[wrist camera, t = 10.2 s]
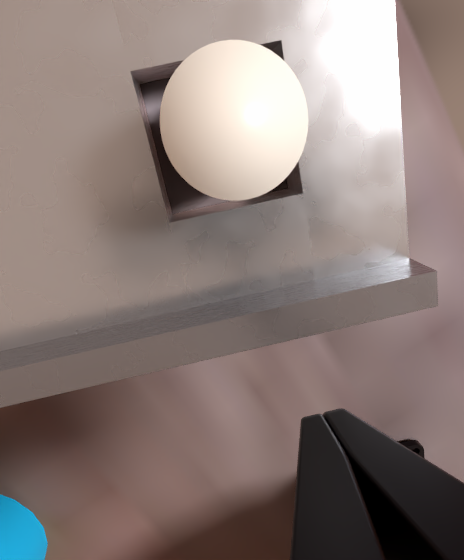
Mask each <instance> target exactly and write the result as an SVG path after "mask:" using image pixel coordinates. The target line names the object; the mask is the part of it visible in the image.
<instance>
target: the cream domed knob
mask: <svg viewBox="0 0 464 560" xmlns="http://www.w3.org/2000/svg"><path fill="white" fill-rule="evenodd" d="M160 131H161V137H162V141H163V145H164V148H165V151H166V153H167V155H168V158H169V160H170V161H171V163H172V165H173V166H174V168H175V169H176V171H177V172H178V173H179V174H180V176H181V177H182V178H183V179H184V180H185V181H186V182H187V183H188V184H190V185H191V186H192V187H194V188H195V189H197V190H198V191H200V192H202V193H204V194H206V195H209V196H211V197H214V198H218V199H222V200H230V201H239V200H247V199H251V198H255V197H258V196H260V195H263V194H265V193H267V192H269V191H270V190H272V189H274V188H275V187H276V186H278V185H279V184H280V183H281V182H282V181H283V180H284V179H285V178H286V177H287V176H288V175H289V174H290V173H291V171H292V170H293V169H294V167H295V166H296V164H297V162H298V161H299V159H300V156H301V154H302V152H303V149H304V146H305V143H306V138H307V133H308V108H307V103H306V98H305V95H304V92H303V89H302V87H301V85H300V83H299V80H298V79H297V77H296V75H295V74H294V72H293V71H292V70H291V68H290V67H289V66H288V65H287V63H286V62H285V61H283V60H282V59H281V58H280V57H279V56H278V55H277V54H275V53H274V52H272V51H271V50H269V49H267V48H265V47H263V46H261V45H259V44H256V43H253V42H249V41H244V40H224V41H218V42H215V43H211V44H208V45H206V46H204V47H202V48H200V49H198V50H197V51H195V52H194V53H192V54H191V55H190V56H188V57H187V58H186V59H185V60H184V61H183V62H182V63H181V64H180V65H179V66H178V68H177V69H176V70H175V72H174V73H173V75H172V76H171V78H170V80H169V82H168V84H167V86H166V89H165V92H164V95H163V98H162V103H161V108H160Z"/></svg>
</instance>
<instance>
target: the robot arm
mask: <svg viewBox="0 0 464 560" xmlns="http://www.w3.org/2000/svg"><path fill="white" fill-rule="evenodd" d="M413 449H414V450H413ZM290 560H464V483H463V482H461V481H460V480H458V479H456V478H455V477H453V476H452V475H450V474H448V473H447V472H445V471H444V470H442V469H440V468H439V467H437V466H436V465H434V464H432V463H431V462H429V461H427V460H426V459H424V449H423V447H422V445H421V444H420V443H419V442H418V441H417V440H410V441H406V442H402V443H398V442H397V441H395V440H394V439H392V438H390V437H389V436H387V435H386V434H384V433H382V432H381V431H379V430H378V429H376V428H374V427H373V426H371V425H369V424H368V423H366V422H365V421H363V420H361V419H360V418H358V417H357V416H355V415H353V414H352V413H350V412H349V411H347V410H345V409H336V410H332V411H328V412H325V413H324V414H323V415H321V414H315V415H311V416H307V417H303V418H302V419H301V427H300V439H299V452H298V464H297V477H296V489H295V502H294V514H293V527H292V539H291V552H290Z"/></svg>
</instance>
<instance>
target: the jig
mask: <svg viewBox="0 0 464 560" xmlns="http://www.w3.org/2000/svg"><path fill="white" fill-rule="evenodd" d="M224 40H244V41H249V42H253V43H256V44H259V45H261V46H263V47H265V48H267V49H269V50H271V51H272V52H274V53H275V54H277V55H278V56H279V57H280V58H281V59H282V60H283V61H285V62H286V63H287V65H288V66H289V67H290V68H291V70H292V71H293V72H294V74H295V75H296V77H297V79H298V80H299V83H300V85H301V87H302V89H303V92H304V95H305V98H306V103H307V108H308V133H307V138H306V143H305V146H304V149H303V152H302V154H301V156H300V159H299V161H298V162H297V164H296V166H295V167H294V169H293V170H292V171H291V173H290V174H289V175H288V176H287V183H288V189H284V190H279V191H275V192H270V193H266V194H263V195H260V196H258V197H255V198H251V199H247V200H239V201H229V202H225V203H220V204H215V205H211V206H206V207H202V208H197V209H193V210H188V211H184V212H179V213H174V214H172V211H171V207H170V203H169V199H168V195H167V191H166V187H165V183H164V179H163V175H162V171H161V167H160V163H159V159H158V155H157V151H156V147H155V144H154V140H153V136H152V132H151V128H150V124H149V120H148V116H147V112H146V108H145V104H144V100H143V96H142V92H141V88H140V84H141V83H146V82H151V81H156V80H160V79H165V78H170V77H171V76H172V75H173V73H174V72H175V70H176V69H177V68H178V66H179V65H180V64H181V63H182V62H183V61H184V60H185V59H186V58H187V57H188V56H190V55H191V54H192V53H194V52H195V51H197V50H198V49H200V48H202V47H204V46H206V45H208V44H211V43H215V42H218V41H224ZM436 306H438V293H437V271H436V270H433V269H431V268H429V267H427V266H425V265H423V264H421V263H418V262H416V261H414V260H412V259H410V258H409V246H408V228H407V210H406V193H405V175H404V157H403V139H402V122H401V104H400V86H399V69H398V51H397V33H396V16H395V0H0V408H1V407H6V406H10V405H14V404H18V403H23V402H27V401H31V400H36V399H40V398H44V397H49V396H53V395H57V394H61V393H66V392H70V391H74V390H79V389H83V388H87V387H92V386H96V385H100V384H105V383H109V382H113V381H117V380H122V379H126V378H130V377H135V376H139V375H143V374H148V373H152V372H156V371H160V370H165V369H169V368H173V367H178V366H182V365H186V364H191V363H195V362H199V361H203V360H208V359H212V358H216V357H221V356H225V355H229V354H234V353H238V352H242V351H247V350H251V349H255V348H259V347H264V346H268V345H272V344H277V343H281V342H285V341H290V340H294V339H298V338H302V337H307V336H311V335H315V334H320V333H324V332H328V331H333V330H337V329H341V328H345V327H350V326H354V325H358V324H363V323H367V322H371V321H376V320H380V319H384V318H389V317H393V316H397V315H401V314H406V313H410V312H414V311H419V310H423V309H427V308H432V307H436Z"/></svg>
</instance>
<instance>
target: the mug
mask: <svg viewBox="0 0 464 560" xmlns="http://www.w3.org/2000/svg"><path fill="white" fill-rule="evenodd" d="M47 544H48V543H47V539H46V535H45V531H44V528H43V526H42V525H41V523H40V522H39V521H38V519H37V518H36V517H35V515H34V514H33V513H32V512H31V511H30V510H28V509H27V508H25V507H24V506H23V505H21V504H20V503H18V502H17V501H16V500H14V499H11V498H8V497H6V496H3V495H0V560H45V555H46V550H47Z"/></svg>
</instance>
